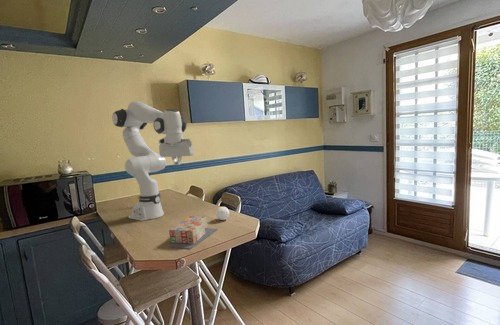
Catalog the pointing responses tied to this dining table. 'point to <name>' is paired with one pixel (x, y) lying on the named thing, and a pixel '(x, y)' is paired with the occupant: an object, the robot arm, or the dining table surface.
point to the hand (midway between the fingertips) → (177, 164)
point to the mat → (188, 246)
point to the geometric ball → (222, 213)
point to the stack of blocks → (188, 230)
